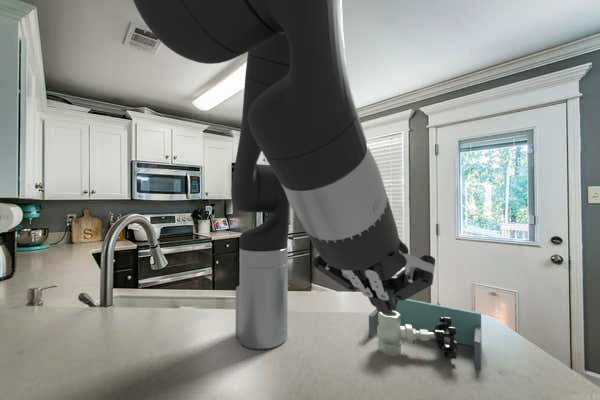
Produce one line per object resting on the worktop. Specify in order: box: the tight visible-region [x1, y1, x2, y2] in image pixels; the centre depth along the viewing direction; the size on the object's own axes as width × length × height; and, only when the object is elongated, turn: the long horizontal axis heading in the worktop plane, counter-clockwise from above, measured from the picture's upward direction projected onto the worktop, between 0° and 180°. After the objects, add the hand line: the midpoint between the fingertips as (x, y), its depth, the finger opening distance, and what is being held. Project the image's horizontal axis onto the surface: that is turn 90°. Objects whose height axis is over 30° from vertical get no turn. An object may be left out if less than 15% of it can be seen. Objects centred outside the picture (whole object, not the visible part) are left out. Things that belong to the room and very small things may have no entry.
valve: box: [376, 311, 459, 360], centre depth 46 cm, size 7×7×12 cm
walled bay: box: [368, 298, 483, 369], centre depth 50 cm, size 18×8×6 cm, turn 55°
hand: (386, 305), depth 32 cm, fingers closed
